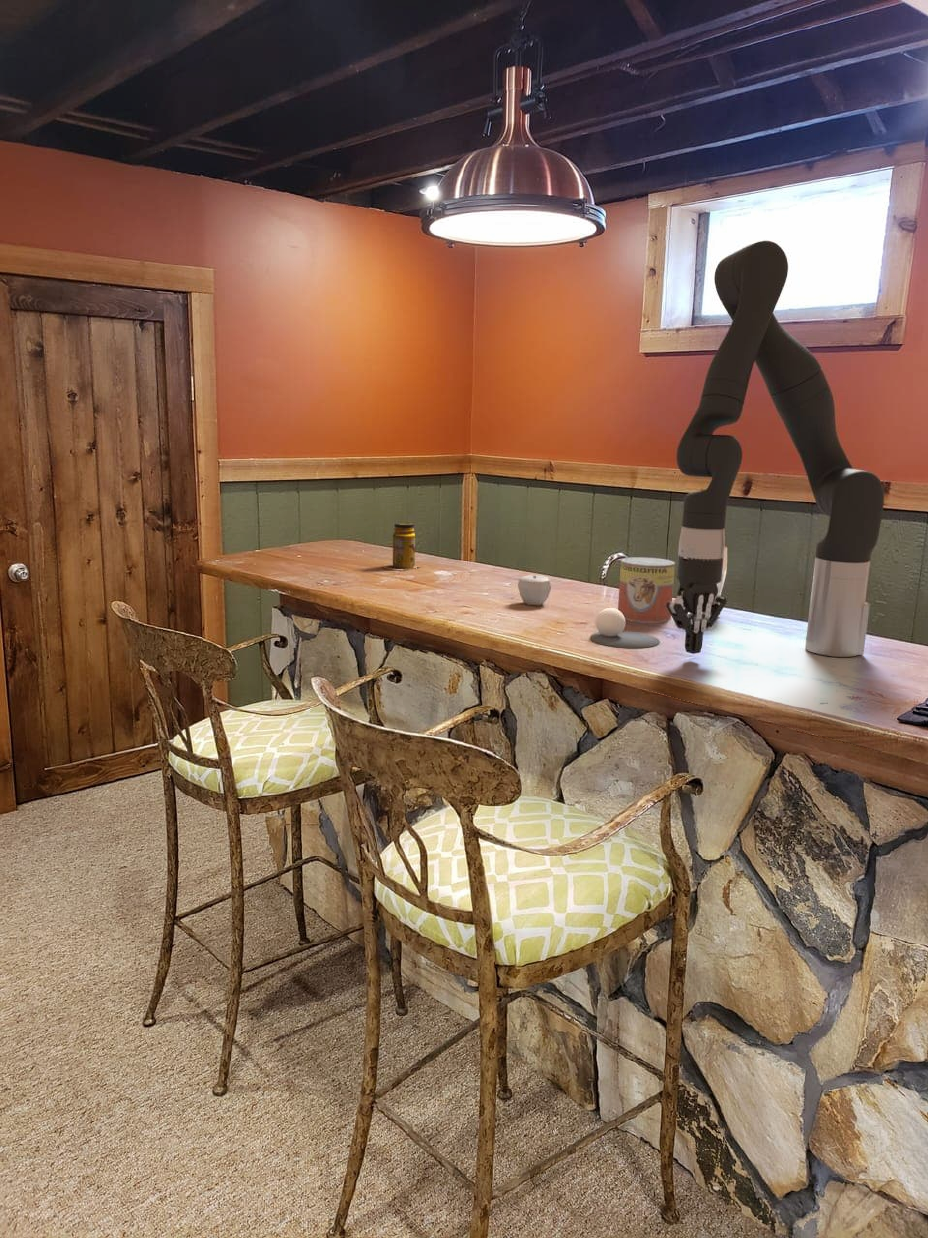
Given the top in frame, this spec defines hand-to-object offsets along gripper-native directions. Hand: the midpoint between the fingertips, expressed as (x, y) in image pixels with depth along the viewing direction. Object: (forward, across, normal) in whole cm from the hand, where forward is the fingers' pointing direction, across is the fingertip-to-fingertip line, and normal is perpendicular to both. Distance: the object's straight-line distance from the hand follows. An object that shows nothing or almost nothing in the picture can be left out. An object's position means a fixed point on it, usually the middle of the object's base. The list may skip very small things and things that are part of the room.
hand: (692, 652), depth 159 cm
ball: (-1, +1, -20) cm, 20 cm away
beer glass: (+2, -31, -25) cm, 40 cm away
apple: (+2, -5, -52) cm, 52 cm away
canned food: (+2, -18, -30) cm, 35 cm away
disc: (+2, 0, -17) cm, 17 cm away
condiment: (+2, -3, -108) cm, 108 cm away
